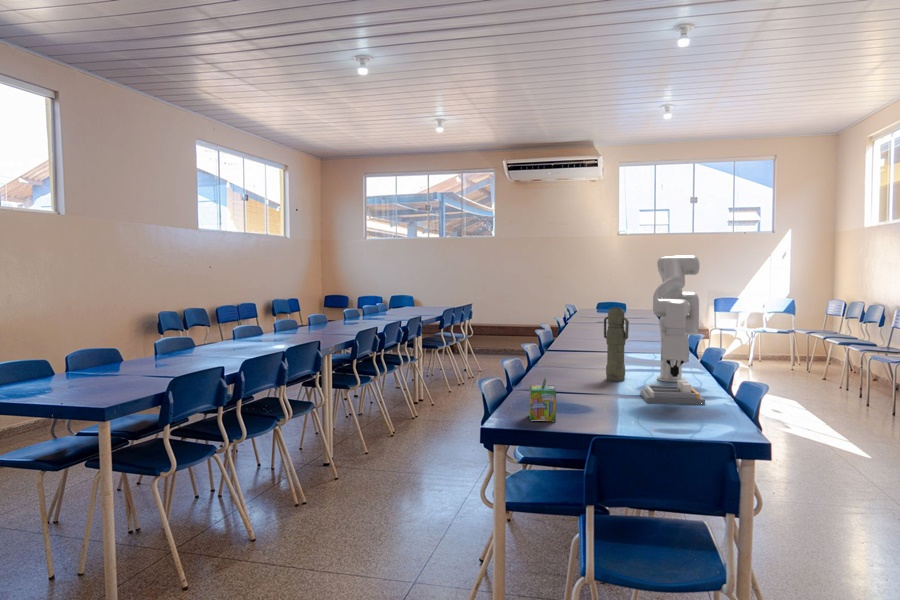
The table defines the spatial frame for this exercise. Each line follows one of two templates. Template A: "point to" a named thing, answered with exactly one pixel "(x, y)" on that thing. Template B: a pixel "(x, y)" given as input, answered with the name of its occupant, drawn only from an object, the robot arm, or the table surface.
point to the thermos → (615, 343)
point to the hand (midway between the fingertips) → (674, 376)
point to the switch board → (670, 395)
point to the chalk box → (542, 402)
